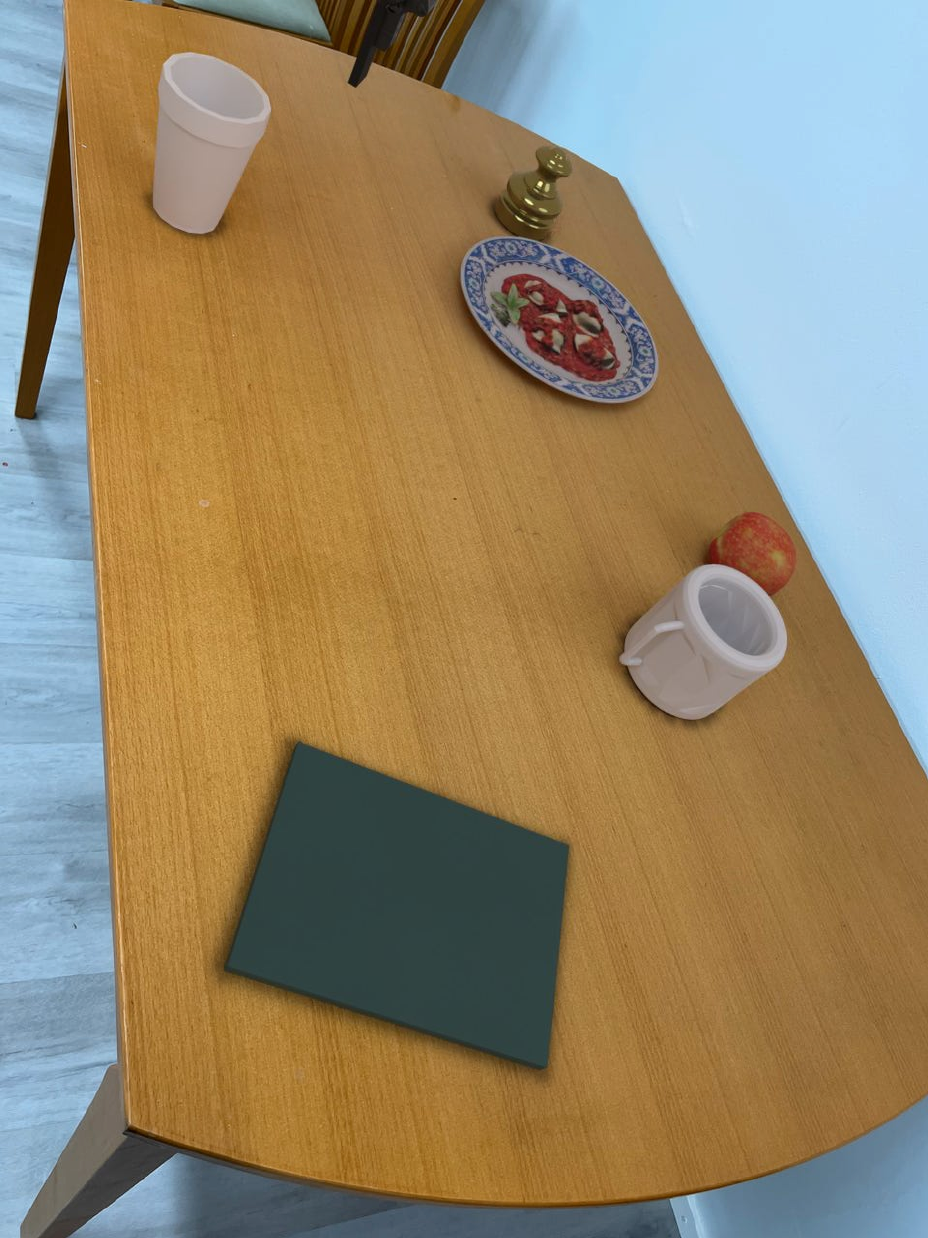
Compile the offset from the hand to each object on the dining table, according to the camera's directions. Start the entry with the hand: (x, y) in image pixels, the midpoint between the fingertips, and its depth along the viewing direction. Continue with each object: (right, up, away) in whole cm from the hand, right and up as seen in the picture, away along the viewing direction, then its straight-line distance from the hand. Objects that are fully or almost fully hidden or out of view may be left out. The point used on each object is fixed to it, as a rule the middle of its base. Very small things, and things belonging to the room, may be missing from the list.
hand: (281, 31), depth 77 cm
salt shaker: (+21, +3, +44) cm, 49 cm away
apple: (+42, -43, +24) cm, 65 cm away
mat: (+11, -66, -11) cm, 68 cm away
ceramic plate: (+25, -13, +35) cm, 45 cm away
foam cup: (-13, -7, +17) cm, 23 cm away
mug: (+32, -52, +12) cm, 62 cm away
